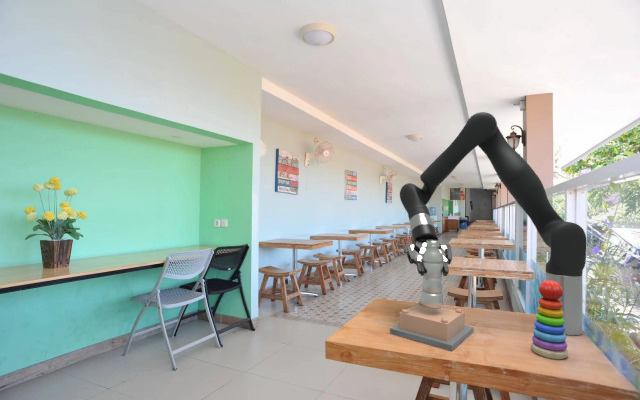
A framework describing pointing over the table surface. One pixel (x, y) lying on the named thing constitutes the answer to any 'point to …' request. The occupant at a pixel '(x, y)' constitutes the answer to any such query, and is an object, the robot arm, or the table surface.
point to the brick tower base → (434, 340)
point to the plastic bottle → (432, 276)
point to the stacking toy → (550, 323)
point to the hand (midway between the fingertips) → (434, 274)
